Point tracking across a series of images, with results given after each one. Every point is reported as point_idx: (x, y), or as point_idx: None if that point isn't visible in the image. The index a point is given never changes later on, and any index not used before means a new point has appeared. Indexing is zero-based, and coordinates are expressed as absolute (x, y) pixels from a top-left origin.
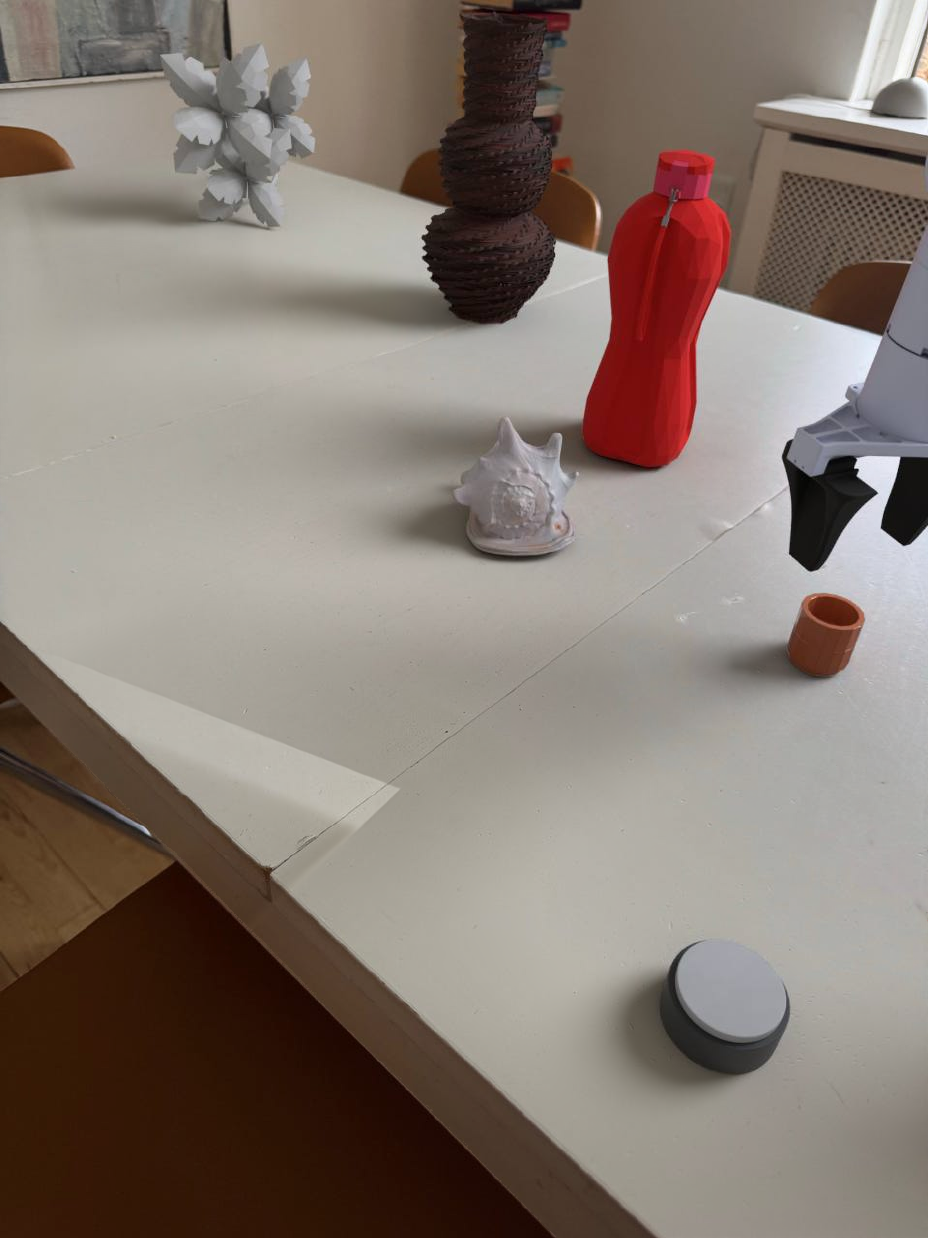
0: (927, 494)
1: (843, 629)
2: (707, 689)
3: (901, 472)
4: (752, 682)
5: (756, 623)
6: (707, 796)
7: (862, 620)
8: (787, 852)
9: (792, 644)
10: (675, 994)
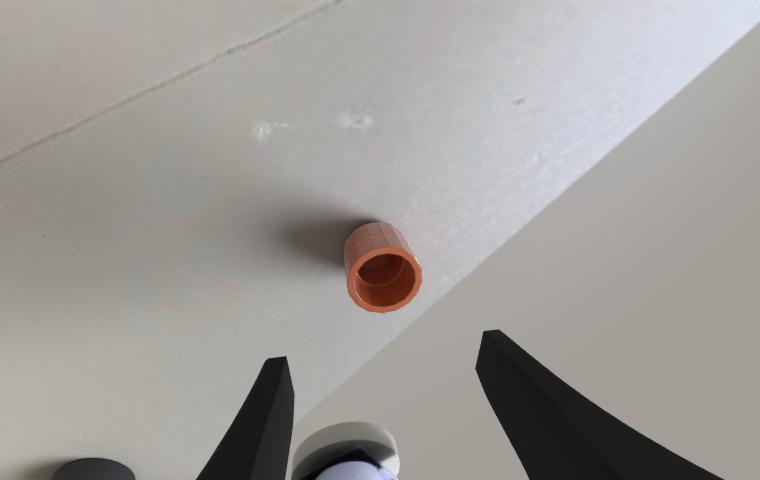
0: (540, 471)
1: (370, 311)
2: (229, 253)
3: (567, 434)
4: (286, 257)
5: (354, 174)
6: (163, 359)
7: (404, 303)
8: (206, 406)
9: (345, 250)
10: None
